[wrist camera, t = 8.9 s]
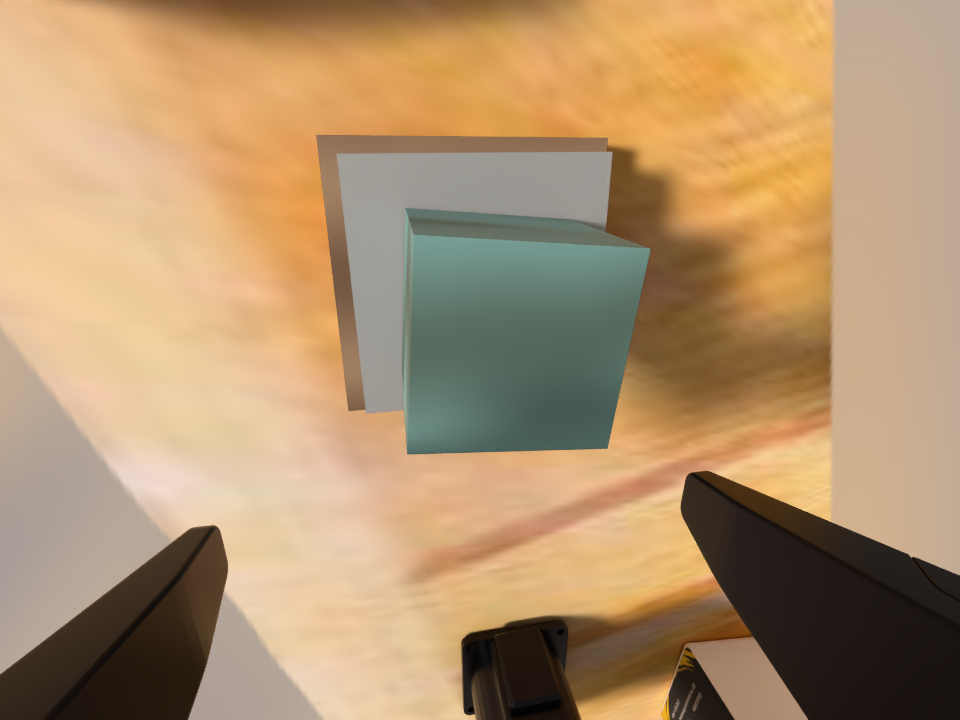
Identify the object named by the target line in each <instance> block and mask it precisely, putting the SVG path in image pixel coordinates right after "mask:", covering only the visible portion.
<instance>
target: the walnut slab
mask: <svg viewBox="0 0 960 720" xmlns="http://www.w3.org/2000/svg"><path fill="white" fill-rule="evenodd" d="M316 137H317V146H318V154H319V163H320V171H321V180H322V188H323V197H324V205H325V214H326V222H327V231H328V239H329V248H330V257H331V265H332V274H333V282H334V291H335V299H336V308H337V316H338V325H339V333H340V342H341V350H342V359H343V367H344V376H345V384H346V393H347V401H348V410H349V411H355V410H366V409H365V400H364V391H363V382H362V373H361V364H360V356H359V347H358V338H357V329H356V320H355V312H354V303H353V294H352V285H351V276H350V267H349V259H348V250H347V241H346V232H345V223H344V215H343V206H342V197H341V188H340V179H339V170H338V162H337V154H357V153H505V152H607V143H608V138H564V137H462V136H361V135H316Z"/></svg>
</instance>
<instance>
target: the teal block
mask: <svg viewBox="0 0 960 720" xmlns="http://www.w3.org/2000/svg"><path fill="white" fill-rule="evenodd" d="M650 250H651V249H650V248H648V247H645V246H642V245H639V244H637V243H634V242H631V241H628V240H626V239H623V238H620V237H617V236H615V235H612V234H609V233H606V232H604V231H601V230H598V229H595V228H593V227H590V226H587V225H584V224H581V223H579V222H576V221H573V220H570V219H558V218H543V217H529V216H515V215H500V214H486V213H471V212H457V211H442V210H428V209H413V208H405V243H404V288H403V333H402V380H403V395H404V411H405V427H406V443H407V454H437V453H471V452H506V451H541V450H575V449H607V448H608V443H609V439H610V434H611V430H612V425H613V420H614V416H615V411H616V407H617V402H618V397H619V393H620V388H621V384H622V379H623V374H624V370H625V365H626V361H627V356H628V351H629V347H630V342H631V338H632V333H633V328H634V324H635V319H636V315H637V310H638V305H639V301H640V296H641V292H642V287H643V282H644V278H645V273H646V269H647V264H648V259H649V255H650Z"/></svg>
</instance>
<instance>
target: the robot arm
mask: <svg viewBox="0 0 960 720" xmlns="http://www.w3.org/2000/svg"><path fill="white" fill-rule="evenodd" d="M681 514H682V517H683V519H684V521H685V523H686V525H687V526H688V528H689V530H690V532H691V534H692V536H693V538H694V539H695V541H696V543H697V545H698V547H699V549H700V551H701V553H702V554H703V556H704V558H705V560H706V562H707V564H708V566H709V568H710V569H711V571H712V573H713V575H714V577H715V578H716V580H717V582H718V584H719V585H720V587H721V588H722V590H723V592H724V593H725V595H726V596H727V598H728V599H729V601H730V602H731V604H732V605H733V607H734V609H735V610H736V612H737V613H738V615H739V616H740V618H741V619H742V621H743V622H744V624H745V625H746V627H747V628H748V630H749V631H750V633H751V634H752V636H753V637H754V639H755V640H756V642H757V643H758V645H759V646H760V648H761V649H762V651H763V652H764V654H765V655H766V657H767V658H768V660H769V661H770V663H771V664H772V666H773V667H774V669H775V670H776V672H777V673H778V675H779V676H780V678H781V679H782V681H783V682H784V684H785V686H786V687H787V689H788V690H789V692H790V693H791V695H792V696H793V698H794V699H795V701H796V702H797V704H798V705H799V707H800V708H801V710H802V711H803V713H804V714H805V716H806V717H807V719H808V720H960V576H959V575H957V574H954V573H952V572H950V571H947V570H945V569H942V568H940V567H937V566H935V565H933V564H930V563H928V562H925V561H923V560H921V559H918V558H915V557H912V558H911V557H910V556H909V555H908V554H906V553H904V552H901V551H899V550H896V549H894V548H892V547H889V546H887V545H884V544H882V543H880V542H877V541H875V540H873V539H870V538H868V537H865V536H863V535H861V534H858V533H856V532H853V531H851V530H849V529H846V528H844V527H841V526H839V525H837V524H834V523H832V522H829V521H827V520H825V519H822V518H820V517H817V516H815V515H813V514H810V513H808V512H806V511H803V510H801V509H798V508H796V507H794V506H791V505H789V504H786V503H784V502H782V501H779V500H777V499H774V498H772V497H770V496H767V495H765V494H762V493H760V492H758V491H755V490H753V489H750V488H748V487H746V486H743V485H741V484H739V483H736V482H734V481H731V480H729V479H727V478H724V477H722V476H719V475H717V474H715V473H712V472H709V471H700V472H692V473H690V474H688V475H687V477H686V480H685V485H684V490H683V495H682V500H681ZM227 574H228V561H227V557H226V553H225V548H224V544H223V540H222V536H221V532H220V530H219V528H218V527H217V526H215V525H211V526H202V527H194V528H191V529H189V530H188V531H186V532H185V533H184V534H182V535H181V536H180V537H178V538H177V539H176V540H175V541H173V542H172V543H171V544H169V545H168V546H167V547H165V548H164V549H163V550H162V551H160V552H159V553H158V554H156V555H155V556H154V557H152V558H151V559H150V560H149V561H148V562H146V563H145V564H143V565H142V566H141V567H139V568H138V569H137V570H135V571H134V572H133V573H132V574H130V575H129V576H128V577H126V578H125V579H124V580H123V581H121V582H120V583H119V584H117V585H116V586H115V587H114V588H112V589H111V590H109V591H108V592H107V593H106V594H104V595H103V596H102V597H101V598H99V599H98V600H96V601H95V602H94V603H93V604H91V605H90V606H89V607H87V608H86V609H85V610H84V611H82V612H81V613H80V614H78V615H77V616H76V617H74V618H73V619H72V620H70V621H69V622H68V623H67V624H65V625H64V626H63V627H61V628H60V629H59V630H57V631H56V632H55V633H54V634H52V635H51V636H50V637H48V638H47V639H46V640H45V641H43V642H42V643H41V644H40V645H38V646H37V647H35V648H34V649H33V650H31V651H30V652H29V653H27V654H26V655H25V656H24V657H22V658H21V659H20V660H18V661H17V662H16V663H14V664H13V665H12V666H11V667H9V668H8V669H7V670H5V671H4V672H3V673H1V674H0V720H188V718H189V715H190V713H191V710H192V707H193V704H194V701H195V698H196V695H197V692H198V689H199V686H200V683H201V681H202V678H203V674H204V671H205V668H206V665H207V661H208V657H209V653H210V649H211V645H212V640H213V635H214V632H215V627H216V623H217V618H218V614H219V609H220V605H221V601H222V597H223V592H224V588H225V583H226V579H227ZM567 640H568V628H567V625H566V623H565V622H564V621H562V620H559V621H553V622H547V623H541V624H535V625H530V626H524V627H518V628H512V629H506V630H501V631H495V632H489V633H483V634H477V635H471V636H467V637H465V638H464V639H463V640H462V642H461V656H462V690H463V708H464V713H465V714H467V715H473V714H475V716H476V720H581V717H580V714H579V711H578V709H577V706H576V703H575V700H574V697H573V695H572V692H571V689H570V686H569V683H568V681H567V678H566V675H565V663H566V652H567Z"/></svg>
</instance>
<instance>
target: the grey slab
mask: <svg viewBox="0 0 960 720" xmlns="http://www.w3.org/2000/svg"><path fill="white" fill-rule="evenodd" d="M612 153H613V152H505V153H357V154H337V162H338V170H339V179H340V188H341V197H342V206H343V215H344V223H345V232H346V241H347V250H348V259H349V267H350V276H351V285H352V294H353V303H354V312H355V320H356V329H357V338H358V347H359V356H360V364H361V373H362V382H363V391H364V400H365V409H366V414H367V413H378V412H389V411H399V410H404V395H403V380H402V333H403V288H404V243H405V208H413V209H428V210H442V211H457V212H471V213H486V214H500V215H515V216H529V217H543V218H558V219H570V220H573V221H576V222H579V223H581V224H584V225H587V226H590V227H593V228H595V229H598V230H601V231H604V232H606V223H607V211H608V199H609V188H610V176H611V165H612Z"/></svg>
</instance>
